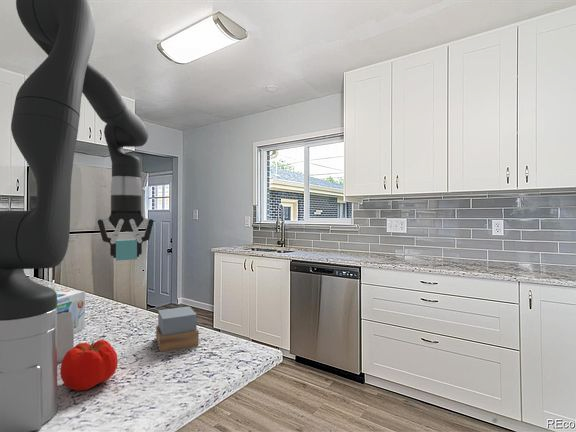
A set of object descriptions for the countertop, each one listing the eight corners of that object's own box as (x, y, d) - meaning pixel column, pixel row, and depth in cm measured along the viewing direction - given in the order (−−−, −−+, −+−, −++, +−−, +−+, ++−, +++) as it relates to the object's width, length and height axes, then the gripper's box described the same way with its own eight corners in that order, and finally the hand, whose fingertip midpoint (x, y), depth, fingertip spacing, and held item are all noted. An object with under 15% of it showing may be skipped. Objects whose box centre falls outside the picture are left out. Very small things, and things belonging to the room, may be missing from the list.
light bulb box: (52, 342, 85) (52, 300, 85) (30, 340, 86) (30, 298, 86) (86, 328, 95) (86, 290, 95) (66, 326, 97) (66, 289, 96)
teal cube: (136, 259, 90) (136, 240, 90) (115, 260, 87) (115, 241, 87) (135, 257, 94) (135, 239, 94) (115, 258, 92) (115, 240, 92)
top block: (196, 330, 84) (196, 314, 84) (162, 335, 80) (162, 319, 80) (189, 321, 91) (189, 306, 91) (158, 325, 87) (158, 310, 87)
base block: (198, 347, 83) (198, 331, 83) (160, 353, 79) (160, 336, 79) (191, 335, 91) (191, 320, 91) (156, 340, 87) (156, 325, 87)
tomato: (50, 396, 60) (50, 355, 60) (80, 372, 69) (80, 336, 69) (103, 396, 60) (103, 354, 60) (126, 372, 69) (125, 336, 69)
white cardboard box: (73, 357, 76) (73, 313, 76) (37, 367, 71) (36, 320, 71) (69, 352, 79) (68, 310, 79) (33, 361, 74) (33, 316, 74)
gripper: (95, 192, 84) (95, 260, 84) (156, 194, 91) (156, 257, 91) (96, 194, 91) (96, 257, 91) (153, 195, 97) (153, 254, 97)
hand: (126, 256), depth 91 cm, fingers closed on teal cube, 5 cm apart
